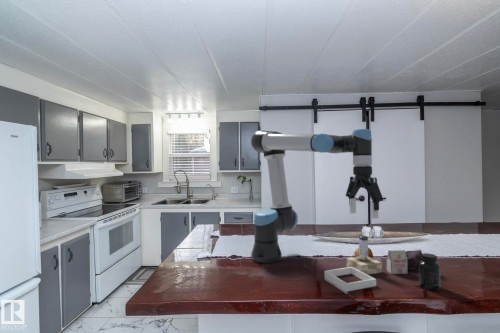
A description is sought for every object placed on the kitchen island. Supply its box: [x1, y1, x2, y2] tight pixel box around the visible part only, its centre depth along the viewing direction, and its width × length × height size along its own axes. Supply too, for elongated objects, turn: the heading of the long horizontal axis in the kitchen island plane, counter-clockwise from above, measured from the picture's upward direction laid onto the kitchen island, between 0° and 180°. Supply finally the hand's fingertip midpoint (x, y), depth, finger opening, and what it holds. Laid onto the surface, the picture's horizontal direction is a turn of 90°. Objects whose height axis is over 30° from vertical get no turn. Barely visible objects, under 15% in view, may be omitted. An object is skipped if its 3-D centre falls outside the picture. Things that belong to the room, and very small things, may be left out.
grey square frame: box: [324, 266, 377, 295], centre depth 112 cm, size 14×13×4 cm
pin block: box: [345, 256, 383, 275], centre depth 124 cm, size 10×10×5 cm
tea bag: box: [386, 249, 409, 275], centre depth 120 cm, size 4×7×10 cm, turn 89°
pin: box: [358, 235, 369, 262], centre depth 124 cm, size 4×4×14 cm
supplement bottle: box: [418, 252, 441, 292], centre depth 107 cm, size 7×7×12 cm
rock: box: [405, 249, 423, 272], centre depth 124 cm, size 12×9×10 cm
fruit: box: [353, 246, 373, 258], centre depth 137 cm, size 8×8×8 cm
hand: (363, 215), depth 123 cm, fingers open, 13 cm apart
